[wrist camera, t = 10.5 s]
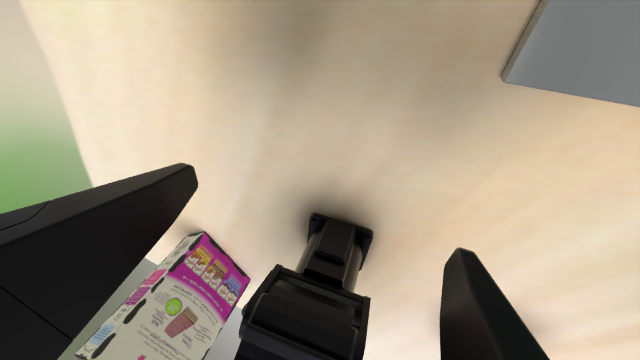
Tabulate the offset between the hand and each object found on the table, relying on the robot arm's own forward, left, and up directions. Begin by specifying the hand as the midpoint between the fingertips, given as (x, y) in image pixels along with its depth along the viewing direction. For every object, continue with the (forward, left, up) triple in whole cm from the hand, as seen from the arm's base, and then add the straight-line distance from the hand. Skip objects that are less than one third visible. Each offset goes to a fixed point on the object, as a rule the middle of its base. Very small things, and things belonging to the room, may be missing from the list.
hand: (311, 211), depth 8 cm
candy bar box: (-29, +17, -12) cm, 36 cm away
